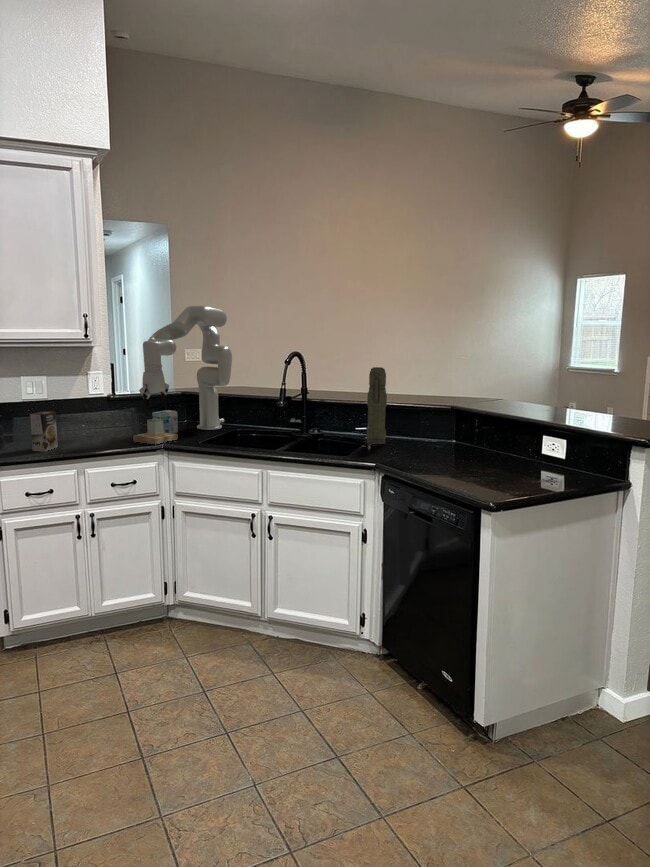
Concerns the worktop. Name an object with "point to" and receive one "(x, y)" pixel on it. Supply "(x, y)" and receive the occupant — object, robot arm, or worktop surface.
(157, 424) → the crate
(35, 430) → the coffee box
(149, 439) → the dock
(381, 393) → the thermos
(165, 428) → the light bulb box
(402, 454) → the worktop surface
